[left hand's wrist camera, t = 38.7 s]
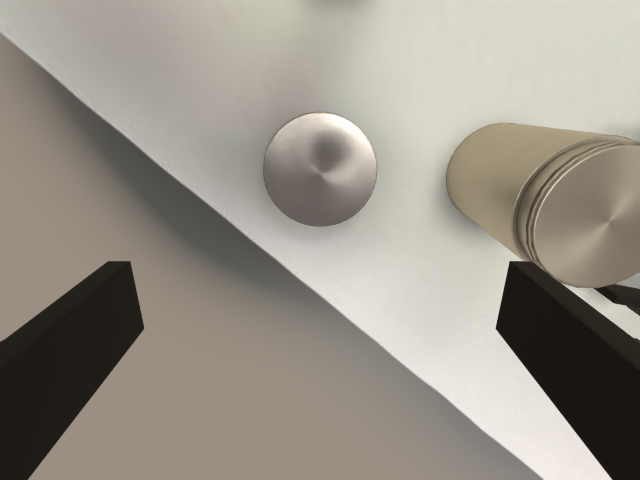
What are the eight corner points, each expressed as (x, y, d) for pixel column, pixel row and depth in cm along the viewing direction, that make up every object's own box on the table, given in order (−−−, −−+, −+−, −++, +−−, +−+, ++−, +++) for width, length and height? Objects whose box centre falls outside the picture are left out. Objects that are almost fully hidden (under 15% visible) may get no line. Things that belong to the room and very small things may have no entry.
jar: (440, 137, 36) (523, 163, 21) (543, 110, 35) (705, 118, 20) (452, 229, 40) (530, 306, 25) (546, 207, 39) (686, 273, 24)
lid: (388, 197, 38) (392, 202, 36) (292, 234, 40) (291, 241, 38) (351, 93, 35) (353, 92, 33) (248, 138, 36) (243, 141, 34)
